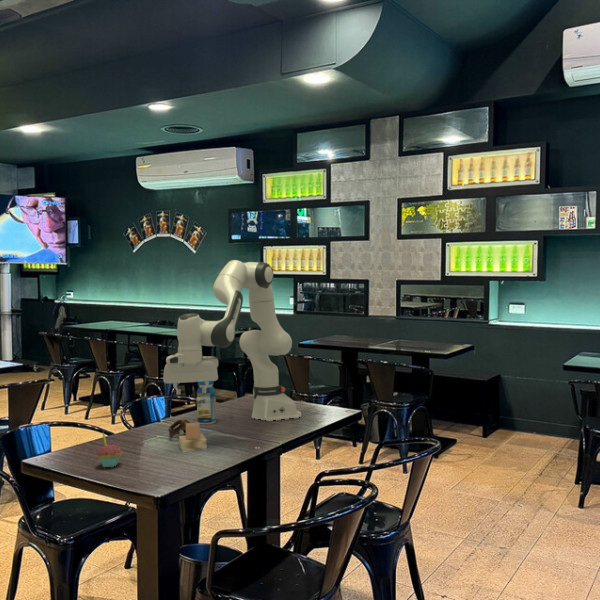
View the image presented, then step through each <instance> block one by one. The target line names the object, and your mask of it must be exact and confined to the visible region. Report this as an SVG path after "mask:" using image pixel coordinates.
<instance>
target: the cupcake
mask: <svg viewBox="0 0 600 600" xmlns="http://www.w3.org/2000/svg"><path fill="white" fill-rule="evenodd" d="M102 438H103V442H104V445H103V446H100V447H99V449H97V451H96V456H97V458H98V459H99V460H100V462H101V465H102V467H103V466H104V467H103V468H105V467H111V468H114V466H115V467H117V466H118V462H119V459H120V458H121V456H122V455H124V451H123V448H122V447H121V446H119V445H117V444H113V443H112V444H108V443H107V439H106V434H105V433H104V432H102ZM116 465H117V466H116Z"/></svg>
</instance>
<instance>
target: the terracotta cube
mask: <svg viewBox="0 0 600 600" xmlns="http://www.w3.org/2000/svg"><path fill="white" fill-rule="evenodd" d="M200 425H201V424H200V423H198V422H189V423H186V433H185V435H186V440H191V439H200V434H201V426H200Z"/></svg>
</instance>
